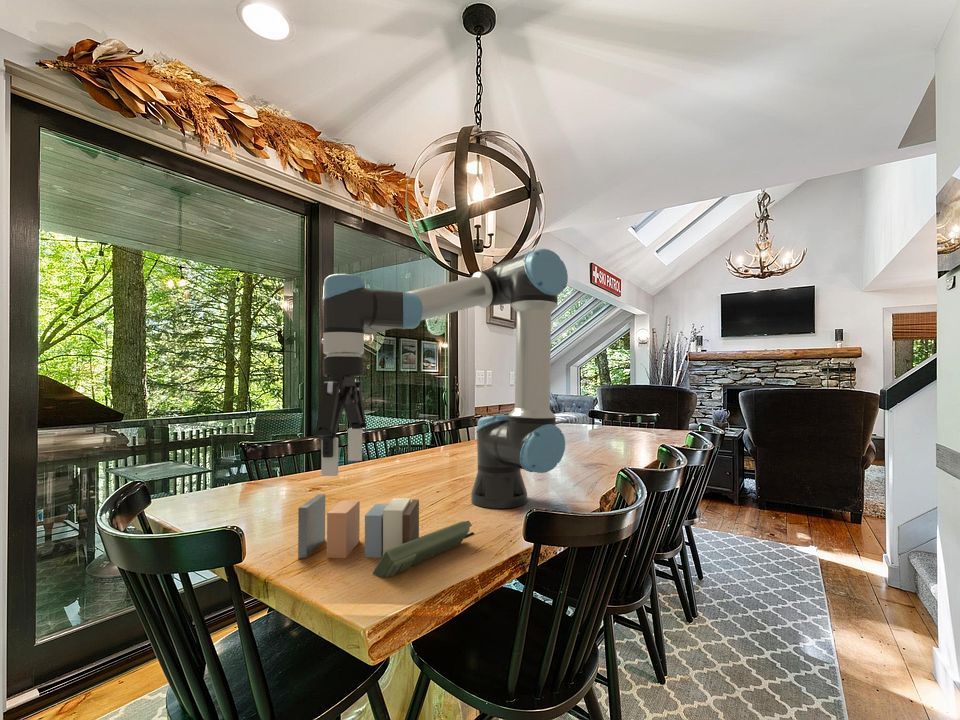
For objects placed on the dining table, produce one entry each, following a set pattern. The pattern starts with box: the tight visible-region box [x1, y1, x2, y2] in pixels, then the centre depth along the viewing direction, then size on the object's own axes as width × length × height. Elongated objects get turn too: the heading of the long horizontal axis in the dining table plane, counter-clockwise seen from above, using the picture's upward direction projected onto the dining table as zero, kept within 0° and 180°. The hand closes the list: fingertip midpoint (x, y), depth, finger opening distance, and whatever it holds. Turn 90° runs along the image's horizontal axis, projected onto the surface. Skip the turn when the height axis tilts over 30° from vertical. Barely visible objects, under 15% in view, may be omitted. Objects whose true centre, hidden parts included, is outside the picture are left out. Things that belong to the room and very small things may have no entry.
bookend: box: [297, 493, 326, 559], centre depth 85 cm, size 2×9×9 cm, turn 178°
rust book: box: [326, 500, 361, 559], centre depth 85 cm, size 4×8×8 cm, turn 178°
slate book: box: [364, 503, 389, 558], centre depth 84 cm, size 3×8×8 cm, turn 178°
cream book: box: [382, 497, 412, 556], centre depth 84 cm, size 4×8×8 cm, turn 178°
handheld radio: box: [372, 520, 476, 578], centre depth 82 cm, size 7×3×25 cm
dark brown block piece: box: [403, 498, 420, 544], centre depth 85 cm, size 21×10×9 cm, turn 88°
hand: (343, 467), depth 85 cm, fingers open, 13 cm apart
